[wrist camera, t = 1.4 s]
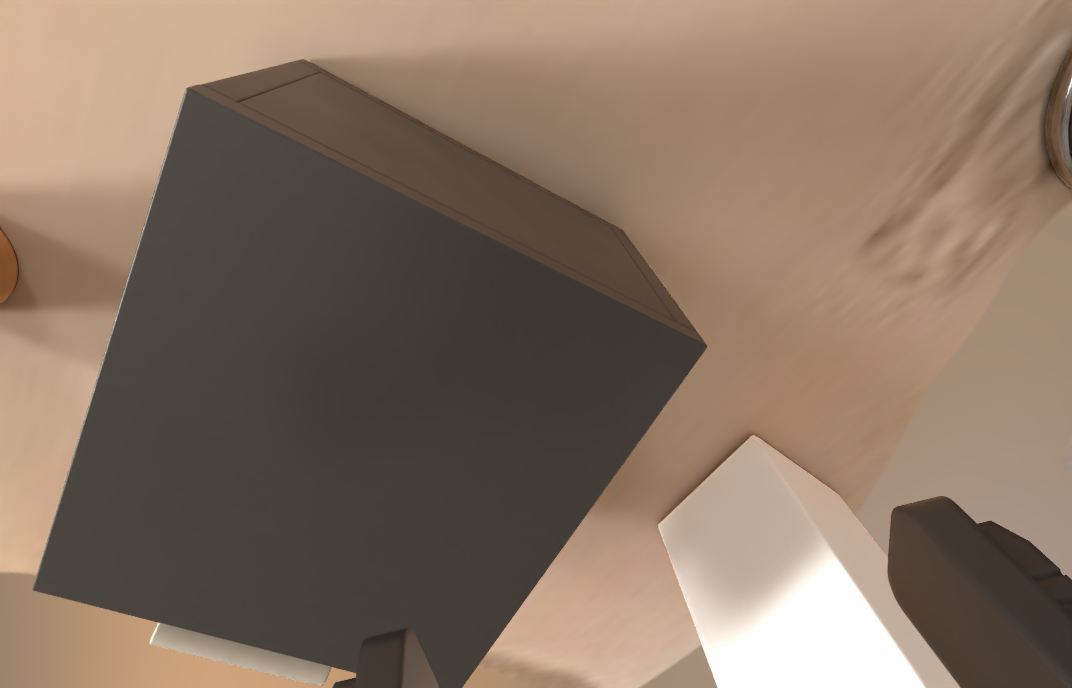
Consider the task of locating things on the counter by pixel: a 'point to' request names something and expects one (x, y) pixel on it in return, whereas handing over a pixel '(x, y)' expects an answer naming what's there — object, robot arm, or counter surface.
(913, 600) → the robot arm
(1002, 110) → the counter surface
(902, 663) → the milk carton
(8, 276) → the pepper mill
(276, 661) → the drawer
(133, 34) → the counter surface
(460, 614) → the small drawer unit
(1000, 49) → the counter surface
